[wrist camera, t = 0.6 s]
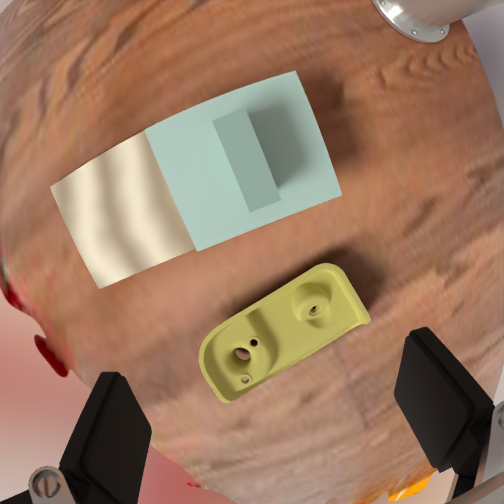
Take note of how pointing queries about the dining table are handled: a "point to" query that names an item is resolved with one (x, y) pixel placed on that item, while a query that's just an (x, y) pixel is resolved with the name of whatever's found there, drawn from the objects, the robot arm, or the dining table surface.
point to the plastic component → (280, 330)
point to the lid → (244, 159)
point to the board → (122, 212)
